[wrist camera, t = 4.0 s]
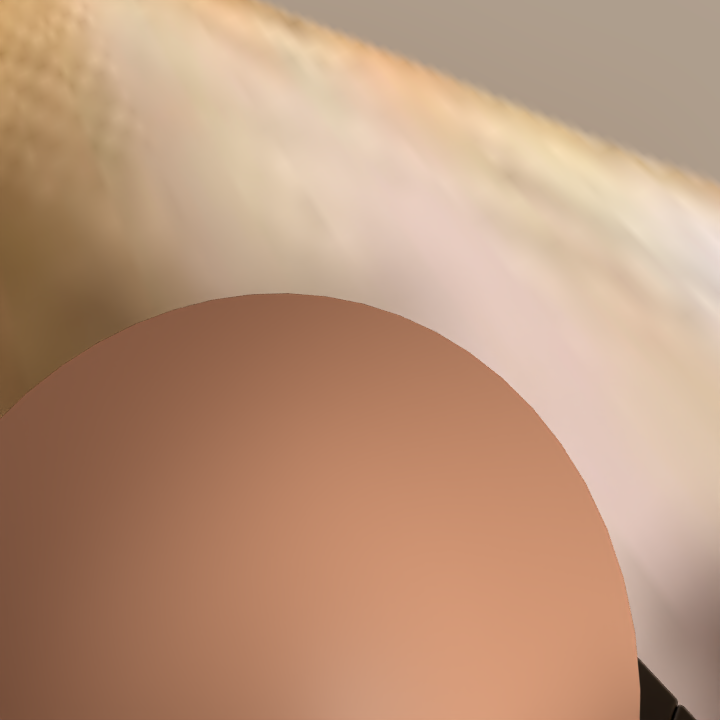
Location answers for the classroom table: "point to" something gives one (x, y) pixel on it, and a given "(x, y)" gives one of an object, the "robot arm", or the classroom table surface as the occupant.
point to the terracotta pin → (299, 531)
